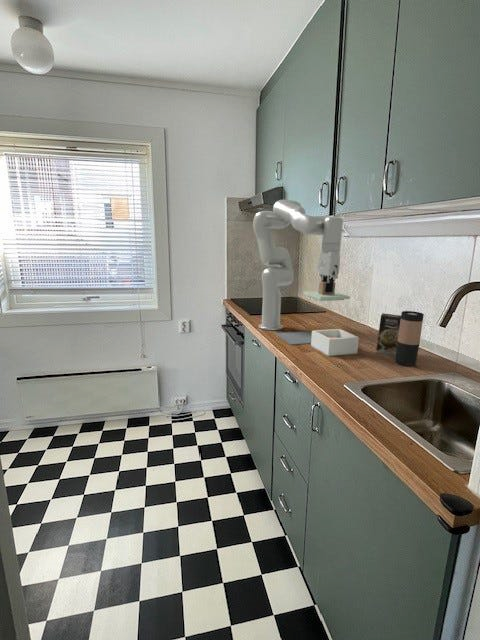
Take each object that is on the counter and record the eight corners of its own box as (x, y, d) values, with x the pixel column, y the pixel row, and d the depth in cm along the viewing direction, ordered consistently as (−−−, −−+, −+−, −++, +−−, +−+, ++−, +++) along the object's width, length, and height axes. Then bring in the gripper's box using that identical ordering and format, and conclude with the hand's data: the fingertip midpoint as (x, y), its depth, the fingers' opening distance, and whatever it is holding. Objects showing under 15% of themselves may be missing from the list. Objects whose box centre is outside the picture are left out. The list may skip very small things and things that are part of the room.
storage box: (310, 345, 152) (312, 330, 151) (338, 343, 156) (339, 328, 155) (328, 356, 139) (329, 339, 138) (357, 353, 144) (358, 337, 142)
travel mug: (391, 359, 137) (397, 310, 132) (409, 360, 137) (416, 311, 132) (400, 366, 129) (408, 315, 125) (420, 366, 130) (428, 315, 125)
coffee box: (375, 352, 145) (380, 315, 142) (377, 348, 151) (381, 312, 147) (399, 356, 141) (404, 318, 137) (400, 352, 147) (405, 315, 143)
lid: (303, 295, 152) (304, 280, 151) (330, 294, 157) (332, 280, 155) (320, 301, 139) (321, 285, 138) (349, 300, 144) (351, 284, 142)
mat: (275, 334, 169) (275, 333, 169) (307, 332, 175) (307, 331, 175) (291, 345, 152) (291, 344, 152) (326, 342, 158) (326, 341, 158)
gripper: (313, 246, 149) (309, 288, 154) (334, 248, 134) (329, 295, 139) (328, 247, 151) (323, 288, 156) (350, 249, 136) (345, 294, 141)
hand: (326, 291), depth 147 cm, fingers closed on lid, 3 cm apart
